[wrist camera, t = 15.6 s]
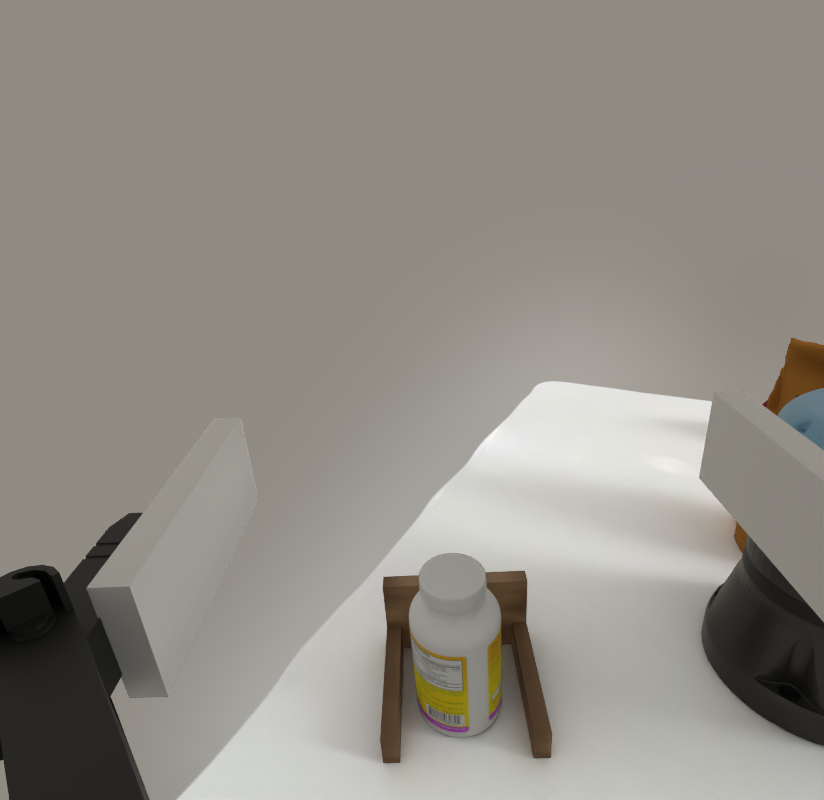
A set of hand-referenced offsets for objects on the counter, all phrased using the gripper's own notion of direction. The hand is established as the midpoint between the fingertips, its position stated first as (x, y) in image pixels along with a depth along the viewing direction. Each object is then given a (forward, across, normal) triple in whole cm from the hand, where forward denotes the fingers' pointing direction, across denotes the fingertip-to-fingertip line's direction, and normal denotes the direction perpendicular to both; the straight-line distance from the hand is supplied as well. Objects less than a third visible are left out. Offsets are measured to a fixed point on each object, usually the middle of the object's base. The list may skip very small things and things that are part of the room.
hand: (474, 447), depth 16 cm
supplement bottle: (+16, 0, -32) cm, 36 cm away
